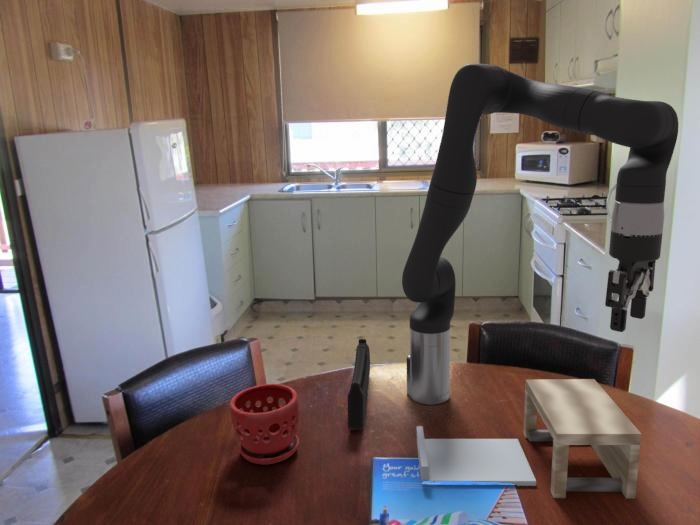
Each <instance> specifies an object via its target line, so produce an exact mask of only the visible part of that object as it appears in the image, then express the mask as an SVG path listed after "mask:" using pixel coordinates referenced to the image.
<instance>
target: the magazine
mask: <svg viewBox="0 0 700 525" xmlns="http://www.w3.org/2000/svg"><path fill="white" fill-rule="evenodd" d="M370 353H371V352H370V347H369V344H367V339H366V338H359V339H358V344H357V346H356V350H355V361H354V369H353V374H352V375H353V376H352V380H351V384H350V388H349V392H348V393H347V429H348V430H351V431H360V430H363V429H364V423H365V419H366V418H365V417H366V412H367V404H368V397H369V396H368V395H369V385H370V384H369V383H370V371H371V355H370Z"/></svg>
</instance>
